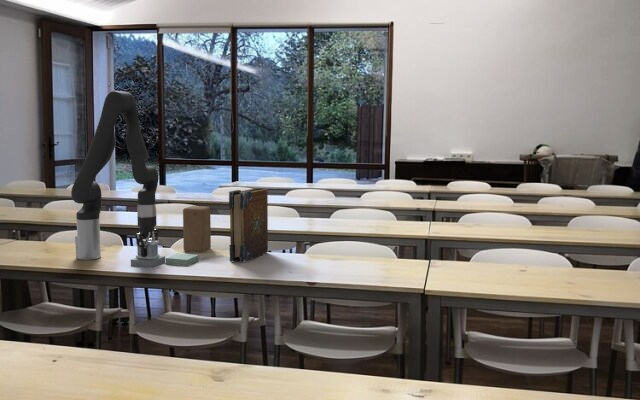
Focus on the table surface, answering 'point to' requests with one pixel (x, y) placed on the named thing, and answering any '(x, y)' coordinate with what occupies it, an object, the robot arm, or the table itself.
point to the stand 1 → (147, 262)
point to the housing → (150, 250)
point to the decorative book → (248, 223)
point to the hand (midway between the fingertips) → (147, 255)
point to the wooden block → (196, 228)
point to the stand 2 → (182, 259)
